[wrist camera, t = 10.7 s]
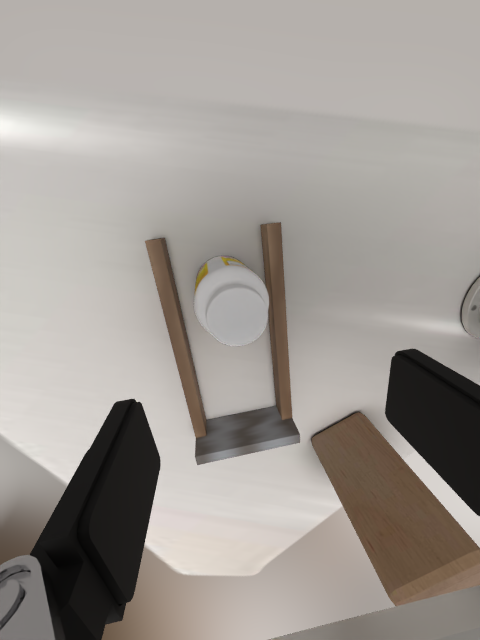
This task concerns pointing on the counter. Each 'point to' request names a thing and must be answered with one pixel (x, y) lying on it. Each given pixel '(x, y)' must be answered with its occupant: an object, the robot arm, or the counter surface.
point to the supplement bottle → (231, 301)
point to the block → (396, 515)
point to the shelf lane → (273, 422)
